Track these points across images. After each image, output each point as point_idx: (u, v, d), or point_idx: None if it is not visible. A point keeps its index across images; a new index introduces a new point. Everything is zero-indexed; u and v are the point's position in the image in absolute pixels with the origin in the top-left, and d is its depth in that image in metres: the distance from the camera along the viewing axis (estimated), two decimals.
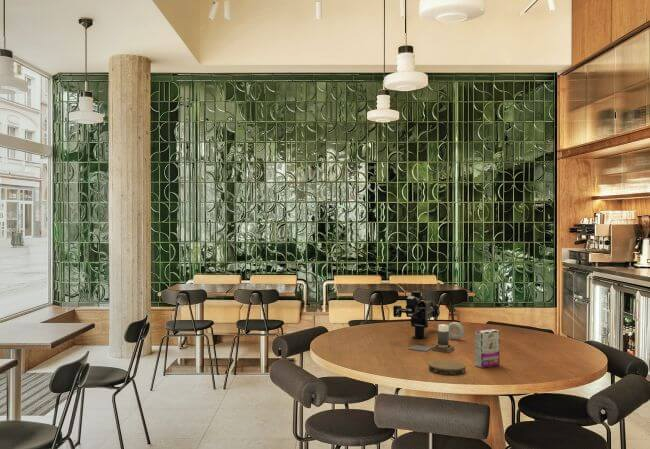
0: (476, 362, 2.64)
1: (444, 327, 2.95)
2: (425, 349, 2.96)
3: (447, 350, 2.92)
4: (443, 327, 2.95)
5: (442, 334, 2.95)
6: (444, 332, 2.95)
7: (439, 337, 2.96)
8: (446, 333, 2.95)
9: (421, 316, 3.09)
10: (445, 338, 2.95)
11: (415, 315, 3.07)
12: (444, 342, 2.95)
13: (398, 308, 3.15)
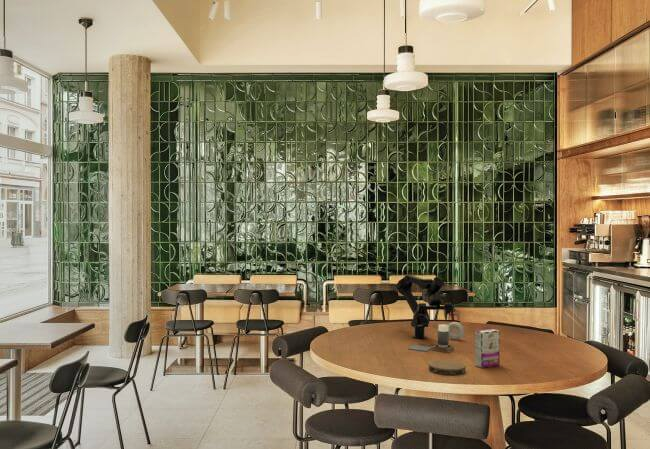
0: (476, 362, 2.64)
1: (444, 327, 2.95)
2: (425, 349, 2.96)
3: (447, 350, 2.92)
4: (443, 327, 2.95)
5: (442, 334, 2.95)
6: (444, 332, 2.95)
7: (439, 337, 2.96)
8: (446, 333, 2.95)
9: (448, 312, 3.12)
10: (445, 338, 2.95)
11: (446, 317, 3.08)
12: (444, 342, 2.95)
13: (426, 309, 3.08)
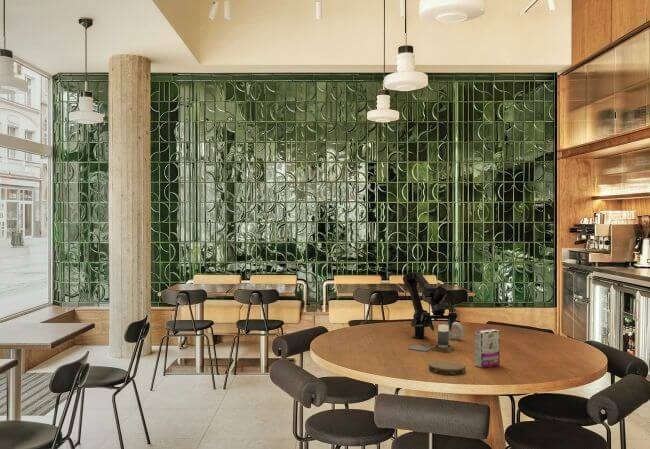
0: (476, 362, 2.64)
1: (444, 327, 2.95)
2: (425, 349, 2.96)
3: (447, 350, 2.92)
4: (443, 327, 2.95)
5: (442, 334, 2.95)
6: (444, 332, 2.95)
7: (439, 337, 2.96)
8: (446, 333, 2.95)
9: (452, 322, 3.06)
10: (445, 338, 2.95)
11: None
12: (444, 342, 2.95)
13: (430, 319, 3.02)
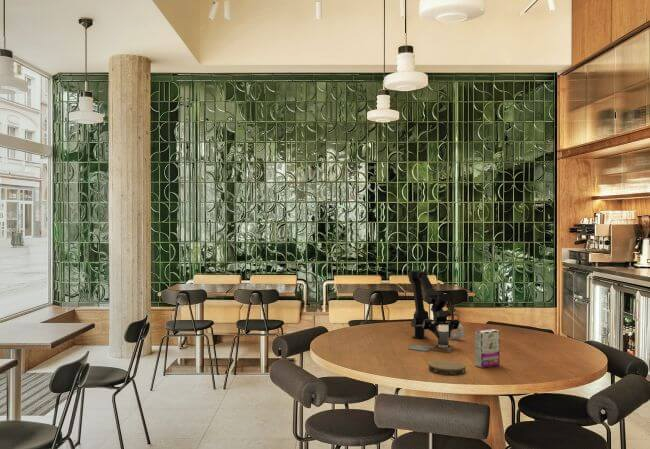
0: (476, 362, 2.64)
1: (444, 327, 2.95)
2: (425, 349, 2.96)
3: (447, 350, 2.92)
4: (443, 327, 2.95)
5: (442, 334, 2.95)
6: (444, 332, 2.95)
7: (439, 337, 2.96)
8: (446, 333, 2.95)
9: (451, 329, 3.02)
10: (445, 338, 2.95)
11: (450, 334, 2.98)
12: (444, 342, 2.95)
13: (435, 326, 2.99)
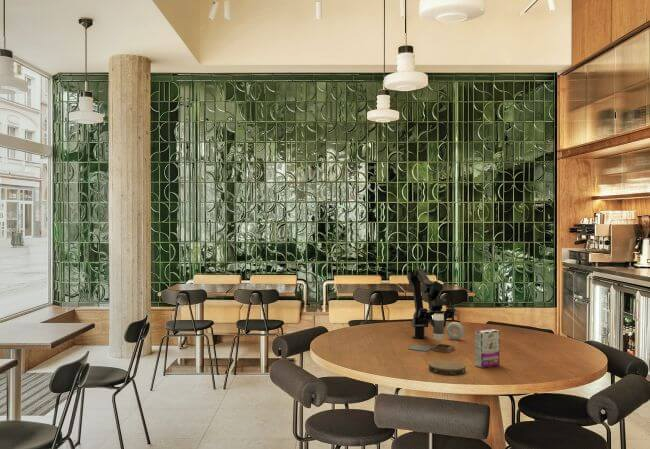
0: (476, 362, 2.64)
1: (439, 316, 2.96)
2: (425, 349, 2.96)
3: (447, 350, 2.92)
4: (438, 316, 2.96)
5: (438, 323, 2.96)
6: (439, 320, 2.96)
7: (434, 326, 2.97)
8: (441, 322, 2.96)
9: (446, 317, 3.03)
10: (440, 327, 2.96)
11: None
12: (439, 331, 2.96)
13: (430, 315, 2.99)
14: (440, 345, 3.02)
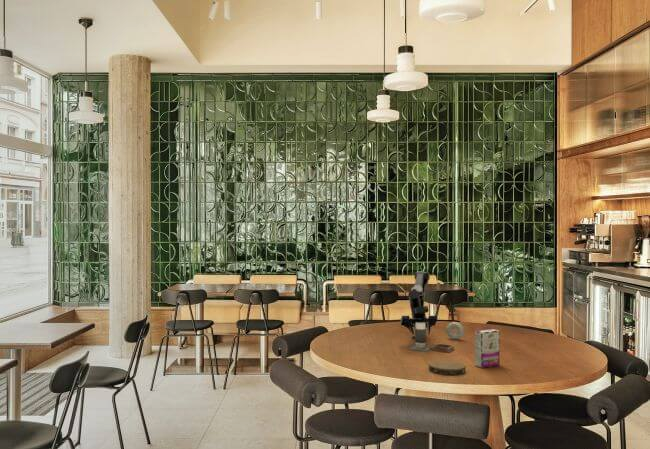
0: (476, 362, 2.64)
1: (421, 325, 2.97)
2: (425, 349, 2.96)
3: (447, 350, 2.92)
4: (420, 325, 2.97)
5: (419, 332, 2.97)
6: (420, 329, 2.97)
7: (416, 335, 2.98)
8: (423, 331, 2.97)
9: (431, 325, 3.04)
10: (422, 336, 2.97)
11: (429, 330, 3.01)
12: (421, 340, 2.97)
13: (410, 322, 3.01)
14: (440, 345, 3.02)
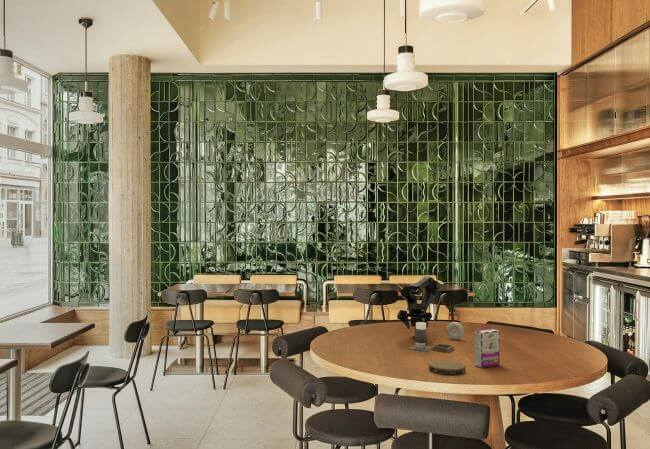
0: (476, 362, 2.64)
1: (421, 325, 2.97)
2: (425, 349, 2.96)
3: (447, 350, 2.92)
4: (420, 325, 2.97)
5: (420, 332, 2.97)
6: (421, 330, 2.97)
7: (416, 335, 2.98)
8: (423, 331, 2.97)
9: (426, 321, 3.15)
10: (422, 336, 2.97)
11: None
12: (421, 340, 2.97)
13: (406, 317, 3.09)
14: (440, 345, 3.02)
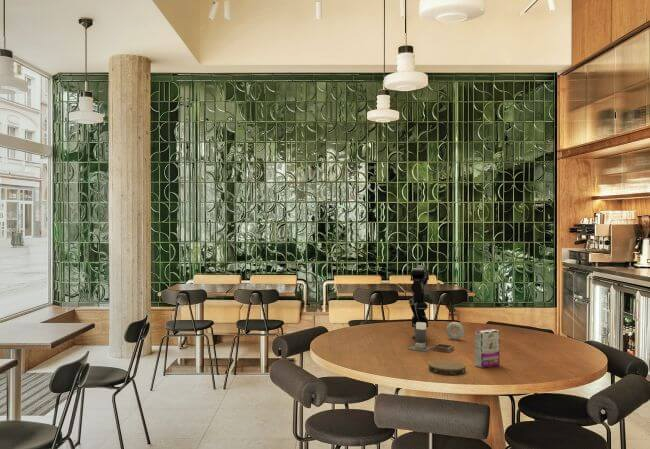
0: (476, 362, 2.64)
1: (421, 325, 2.97)
2: (425, 349, 2.96)
3: (447, 350, 2.92)
4: (420, 325, 2.97)
5: (420, 332, 2.97)
6: (421, 330, 2.97)
7: (416, 335, 2.98)
8: (423, 331, 2.97)
9: None
10: (422, 336, 2.97)
11: None
12: (421, 340, 2.97)
13: None
14: (440, 345, 3.02)
